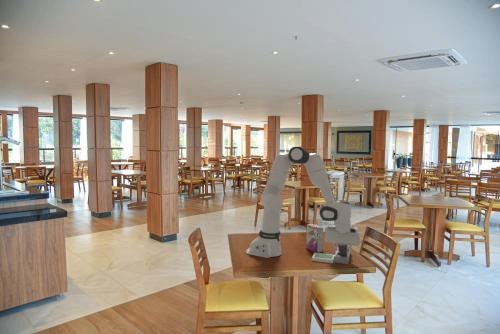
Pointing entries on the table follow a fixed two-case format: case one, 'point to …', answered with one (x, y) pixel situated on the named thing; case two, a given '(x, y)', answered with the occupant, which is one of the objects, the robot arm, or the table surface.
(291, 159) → the robot arm
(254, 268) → the table surface
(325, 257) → the plug tray
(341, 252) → the black plug
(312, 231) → the candy bar box
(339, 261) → the pdu strip
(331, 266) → the table surface
